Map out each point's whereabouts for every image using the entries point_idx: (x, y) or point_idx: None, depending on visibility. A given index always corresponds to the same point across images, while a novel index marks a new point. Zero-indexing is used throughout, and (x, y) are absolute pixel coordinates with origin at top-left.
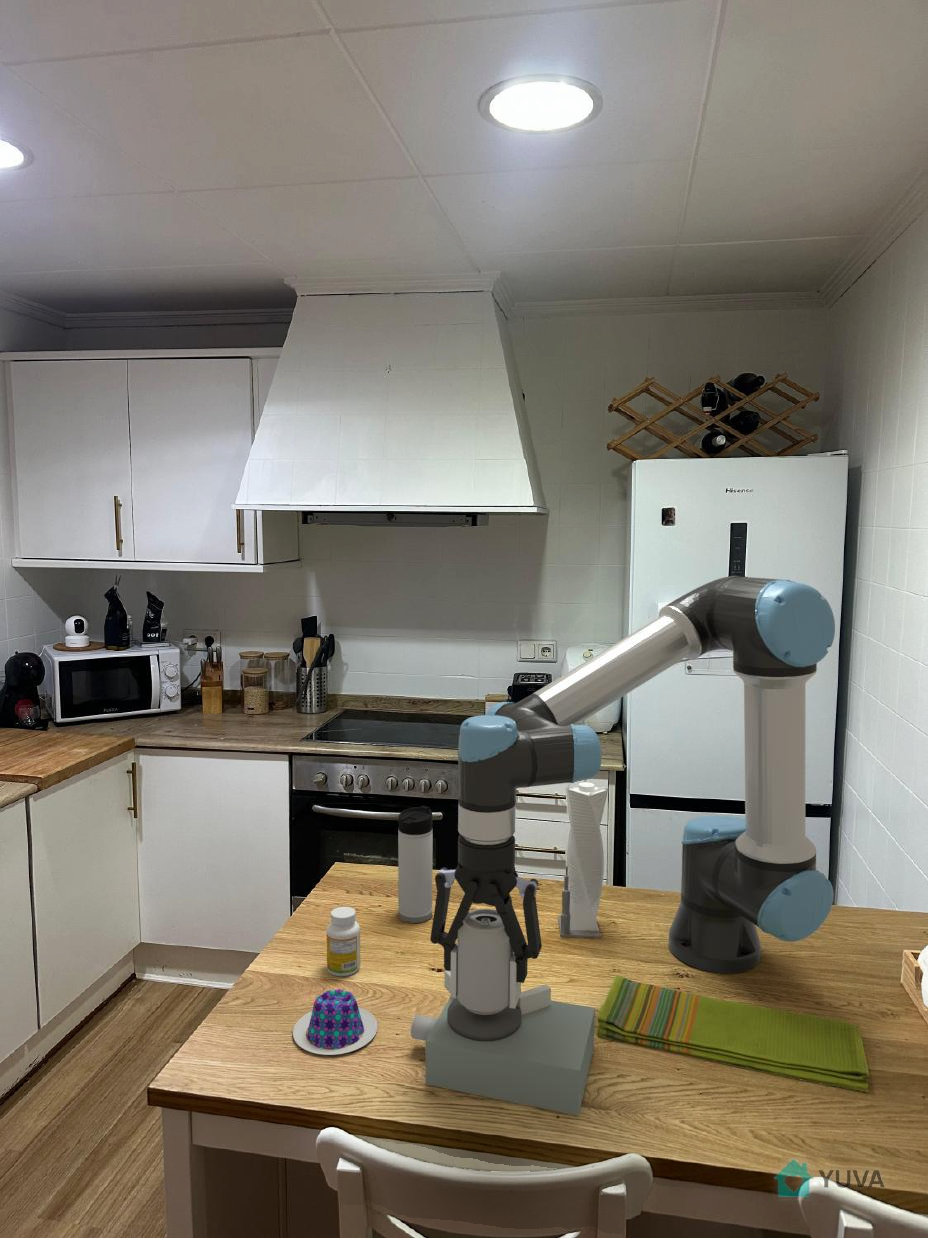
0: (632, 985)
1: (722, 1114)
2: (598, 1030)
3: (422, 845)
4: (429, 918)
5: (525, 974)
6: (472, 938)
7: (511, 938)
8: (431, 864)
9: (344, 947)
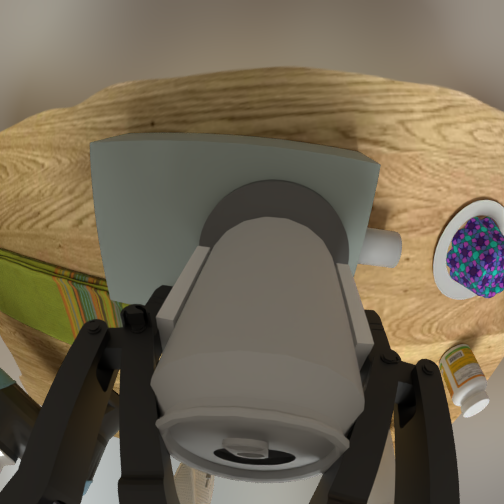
0: None
1: (23, 188)
2: None
3: (375, 498)
4: None
5: (150, 300)
6: (299, 375)
7: (142, 381)
8: None
9: (469, 371)
